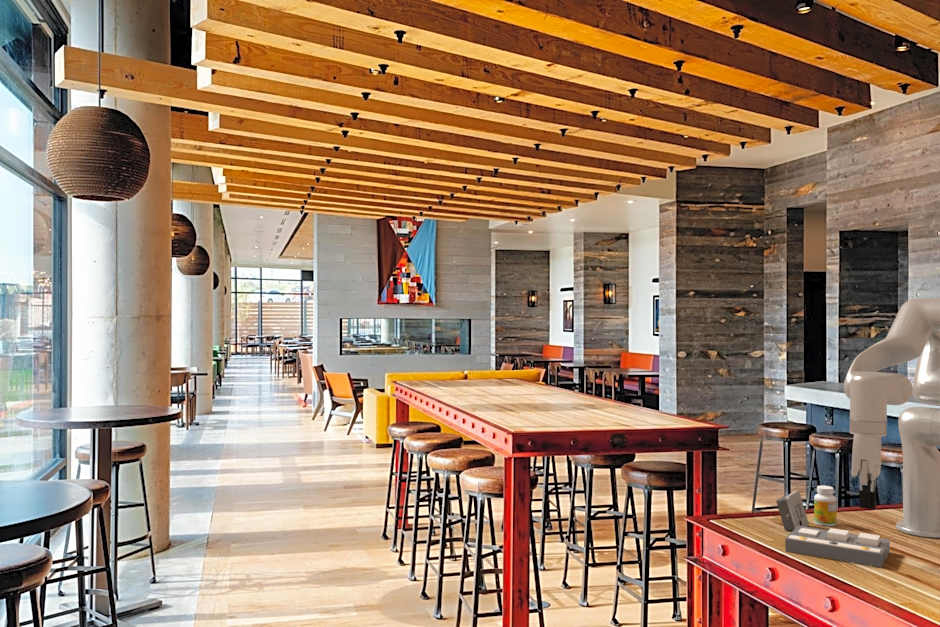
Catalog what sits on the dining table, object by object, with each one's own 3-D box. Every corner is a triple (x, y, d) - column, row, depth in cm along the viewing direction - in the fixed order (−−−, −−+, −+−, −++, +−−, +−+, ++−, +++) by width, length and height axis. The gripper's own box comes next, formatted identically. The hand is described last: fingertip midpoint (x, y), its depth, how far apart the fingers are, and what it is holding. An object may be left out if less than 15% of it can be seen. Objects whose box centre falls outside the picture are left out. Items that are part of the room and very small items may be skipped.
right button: (860, 543, 176) (860, 532, 176) (880, 546, 174) (880, 535, 174) (857, 547, 173) (857, 536, 173) (877, 550, 170) (877, 539, 170)
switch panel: (798, 537, 187) (798, 524, 187) (889, 552, 176) (889, 538, 176) (785, 551, 177) (785, 537, 177) (881, 567, 165) (881, 552, 165)
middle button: (830, 538, 180) (830, 528, 180) (849, 541, 177) (849, 530, 177) (827, 542, 177) (827, 532, 177) (845, 545, 174) (845, 535, 174)
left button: (801, 538, 184) (801, 527, 184) (819, 540, 181) (819, 530, 181) (797, 542, 180) (797, 531, 180) (815, 545, 178) (815, 534, 178)
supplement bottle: (809, 522, 201) (809, 485, 201) (826, 520, 203) (825, 484, 203) (824, 527, 196) (824, 490, 196) (841, 525, 198) (841, 488, 198)
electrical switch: (799, 534, 190) (795, 497, 191) (778, 532, 194) (774, 496, 194) (809, 526, 198) (805, 490, 198) (789, 524, 201) (785, 489, 201)
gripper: (855, 423, 181) (855, 499, 181) (844, 429, 169) (843, 511, 169) (890, 426, 177) (890, 504, 177) (881, 433, 165) (881, 517, 165)
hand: (867, 507), depth 173 cm, fingers closed
